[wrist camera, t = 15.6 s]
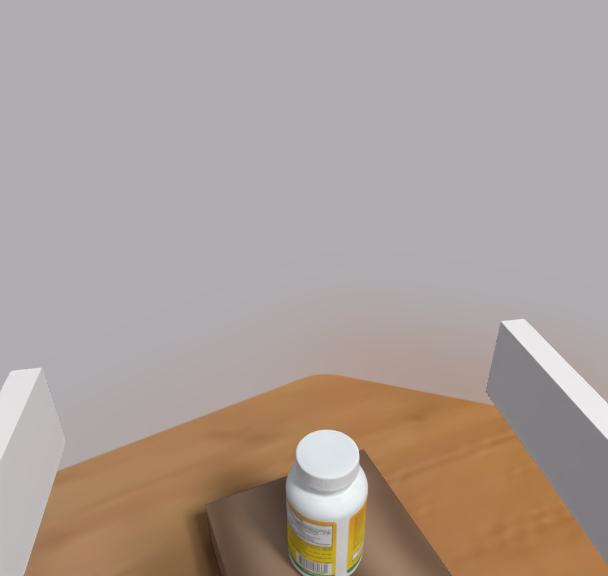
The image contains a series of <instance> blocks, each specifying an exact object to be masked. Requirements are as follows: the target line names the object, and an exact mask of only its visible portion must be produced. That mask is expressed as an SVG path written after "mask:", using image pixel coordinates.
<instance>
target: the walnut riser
mask: <svg viewBox="0 0 608 576" xmlns="http://www.w3.org/2000/svg"><path fill="white" fill-rule="evenodd" d="M359 465H360V466H361V468H362V469H363V471H364V473H365V475H366V478H367V483H368V495H367V507H366V519H365V533H364V546H363V554H362V558H361V561H360V563H359V565H358V566H357V568H356V569H355V571H354V572H353V573H352V574H351V575H349V576H452V575H451V574H450V572H449V571H448V569H447V568H446V567H445V565H444V564H443V562H442V561H441V559H440V558H439V557H438V555H437V554H436V552H435V551H434V549H433V548H432V547H431V545H430V544H429V542H428V541H427V539H426V538H425V537H424V535H423V534H422V532H421V531H420V529H419V528H418V526H417V525H416V524H415V522H414V521H413V519H412V518H411V516H410V515H409V514H408V512H407V511H406V509H405V508H404V506H403V505H402V504H401V502H400V501H399V499H398V498H397V496H396V495H395V494H394V492H393V491H392V489H391V488H390V486H389V485H388V484H387V482H386V481H385V479H384V478H383V476H382V475H381V474H380V472H379V471H378V469H377V468H376V466H375V465H374V464H373V462H372V461H371V459H370V458H369V456H368V455H367V454H366V452H365V451H364V449H363V450H360V451H359ZM286 480H287V476H286V477H283V478H280V479H278V480H275V481H272V482H269V483H266V484H263V485H260V486H258V487H255V488H252V489H249V490H246V491H243V492H240V493H238V494H235V495H232V496H229V497H226V498H223V499H220V500H218V501H215V502H212V503H209V504H206V505H205V506H206V512H207V519H208V525H209V532H210V538H211V541H212V544H213V548H214V551H215V554H216V558H217V561H218V565H219V568H220V571H221V575H222V576H303V575H302V574H301V573H300V572H299V571H298V570H297V569H296V568H295V566H294V565H293V563H292V561H291V558H290V556H289V551H288V532H287V507H286Z"/></svg>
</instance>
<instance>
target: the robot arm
mask: <svg viewBox="0 0 608 576" xmlns="http://www.w3.org/2000/svg"><path fill="white" fill-rule="evenodd" d="M486 393H487V394H488V396H489V397H490V399H491V400H492V402H493V403H494V404H495V406H496V407H497V409H498V410H499V411H500V413H501V414H502V416H503V417H504V419H505V420H506V421H507V423H508V424H509V426H510V427H511V428H512V430H513V431H514V433H515V434H516V436H517V437H518V438H519V440H520V441H521V443H522V444H523V446H524V447H525V448H526V450H527V451H528V453H529V454H530V455H531V457H532V458H533V460H534V461H535V463H536V464H537V465H538V467H539V468H540V470H541V471H542V472H543V474H544V475H545V477H546V478H547V480H548V481H549V482H550V484H551V485H552V487H553V488H554V489H555V491H556V492H557V494H558V495H559V497H560V498H561V499H562V501H563V502H564V504H565V505H566V507H567V508H568V509H569V511H570V512H571V514H572V515H573V516H574V518H575V519H576V521H577V522H578V524H579V525H580V526H581V528H582V529H583V531H584V532H585V533H586V535H587V536H588V538H589V539H590V541H591V542H592V543H593V545H594V546H595V548H596V549H597V551H598V552H599V553H600V555H601V556H602V558H603V559H604V560H605V562H606V563H607V565H608V404H607V403H606V401H605V400H604V399H603V398H602V397H601V396H600V395H599V394H598V393H596V391H595V390H594V389H593V388H592V387H591V386H590V385H589V384H588V383H587V382H586V381H585V380H584V379H583V378H582V377H581V376H580V375H579V374H578V373H577V372H576V371H575V370H574V369H573V368H572V367H571V366H570V365H569V364H568V363H567V362H566V361H565V360H564V359H563V358H562V357H561V356H560V355H559V354H558V353H557V352H556V351H555V350H554V349H553V348H552V347H551V346H550V345H549V344H548V343H547V342H546V340H544V338H542V337H541V335H539V333H538V332H537V331H536V330H535V329H534V328H533V327H532V326H531V325H530V324H529V323H528V322H527V321H526V320H525V319H520V320H509V321H501V323H500V327H499V332H498V337H497V341H496V346H495V351H494V356H493V360H492V365H491V369H490V374H489V378H488V383H487V387H486ZM65 443H66V441H65V438H64V435H63V432H62V428H61V425H60V422H59V419H58V416H57V413H56V410H55V407H54V404H53V401H52V398H51V395H50V392H49V389H48V385H47V382H46V380H45V376H44V373H43V370H42V368H34V369H24V370H14V371H11V372H10V374H9V376H8V378H7V380H6V382H5V384H4V386H3V388H2V390H1V391H0V576H24V573H25V570H26V567H27V564H28V561H29V558H30V554H31V551H32V548H33V545H34V542H35V539H36V535H37V532H38V529H39V526H40V523H41V520H42V516H43V513H44V510H45V507H46V504H47V501H48V497H49V494H50V491H51V488H52V485H53V482H54V479H55V475H56V472H57V469H58V466H59V463H60V460H61V456H62V453H63V450H64V447H65Z"/></svg>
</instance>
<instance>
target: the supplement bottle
mask: <svg viewBox="0 0 608 576" xmlns="http://www.w3.org/2000/svg"><path fill="white" fill-rule="evenodd" d="M367 495H368V483H367V478H366V475H365V473H364V471H363V469H362V468H361V466H360V465H359V450H358V447H357V445H356V444H355V442H354V441H353V440H352V439H351V438H350V437H348V436H347V435H345V434H344V433H341V432H338V431H334V430H319V431H315V432H312V433H310V434H308V435H306V436H305V437H304V438H303V439H302V440H301V441H300V442H299V444H298V446H297V448H296V462H295V463H294V465H293V466H292V467H291V469H290V471H289V473H288V476H287V480H286V507H287V532H288V551H289V556H290V558H291V561H292V563H293V565H294V566H295V568H296V569H297V570H298V571H299V572H300V573H301V574H302V575H303V576H349V575H351V574H352V573H353V572H354V571H355V569H356V568H357V566H358V565H359V563H360V561H361V558H362V554H363V546H364V533H365V519H366V507H367Z"/></svg>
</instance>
